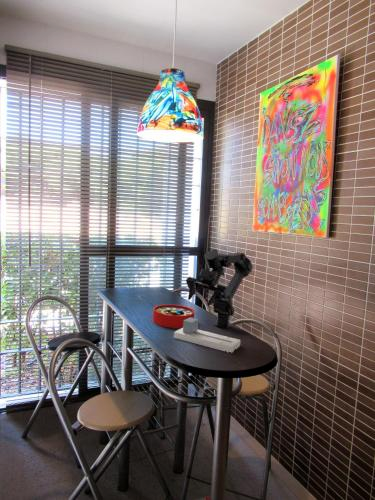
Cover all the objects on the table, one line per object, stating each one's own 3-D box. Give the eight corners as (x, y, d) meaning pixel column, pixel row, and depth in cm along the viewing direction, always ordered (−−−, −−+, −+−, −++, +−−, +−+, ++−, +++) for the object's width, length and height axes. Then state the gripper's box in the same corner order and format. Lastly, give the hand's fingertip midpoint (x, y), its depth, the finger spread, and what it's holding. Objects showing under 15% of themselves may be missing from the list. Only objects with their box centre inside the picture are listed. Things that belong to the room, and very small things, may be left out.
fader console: (184, 331, 161) (185, 326, 161) (240, 345, 150) (240, 339, 149) (173, 337, 153) (174, 331, 152) (231, 353, 141) (232, 346, 140)
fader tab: (189, 328, 158) (190, 317, 157) (197, 330, 156) (198, 319, 156) (182, 331, 153) (183, 320, 152) (191, 334, 151) (192, 322, 150)
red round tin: (145, 307, 175) (175, 302, 189) (144, 319, 176) (174, 313, 190) (172, 318, 161) (203, 312, 175) (171, 331, 162) (202, 324, 176)
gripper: (191, 258, 159) (174, 284, 150) (230, 267, 151) (214, 296, 142) (196, 275, 167) (180, 301, 158) (233, 285, 158) (219, 312, 149)
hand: (197, 302), depth 151 cm, fingers open, 9 cm apart
